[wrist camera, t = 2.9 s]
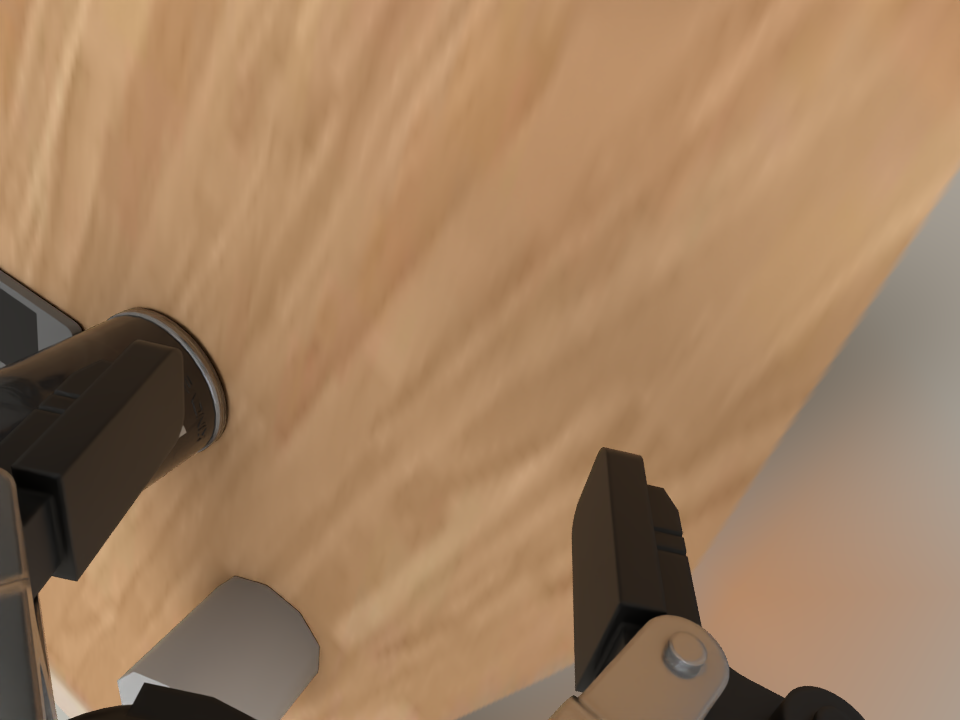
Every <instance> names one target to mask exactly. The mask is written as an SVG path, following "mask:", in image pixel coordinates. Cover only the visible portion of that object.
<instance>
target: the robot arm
mask: <svg viewBox="0 0 960 720" xmlns="http://www.w3.org/2000/svg"><path fill="white" fill-rule="evenodd" d="M226 416H227V409H226V400H225V396H224V392H223V388H222V385H221V383H220V380H219V378H218V375H217V373H216V371H215V369H214V367H213V365H212V364H211V362H210V360H209V359H208V357H207V356H206V354H205V353H204V351H203V350H202V349H201V348H200V346H199V345H198V344H197V343H196V342H195V340H194V339H193V338H192V337H191V336H190V335H189V334H188V333H187V332H186V331H185V330H184V329H182V328H181V327H180V326H179V325H177V324H176V323H175V322H173V321H172V320H170V319H169V318H167V317H165V316H164V315H162V314H159V313H157V312H155V311H152V310H148V309H143V308H132V309H128V310H125V311H123V312H120V313H118V314H116V315H114V316H112V317H110V318H109V319H108V320H107V321H105V322H103V323H101V324H98V325H96V326H94V327H92V328H89V329H87V330H85V331H83V332H80V333H78V334H76V335H74V336H71V337H69V338H66V339H64V340H62V341H60V342H57V343H55V344H53V345H51V346H49V347H46V348H44V349H42V350H40V351H37V352H35V353H33V354H31V355H28V356H26V357H24V358H22V359H20V360H17V361H15V362H13V363H11V364H8V365H6V366H4V367H2V368H0V720H57V714H56V709H55V703H54V696H53V690H52V683H51V676H50V669H49V662H48V655H47V647H46V640H45V633H44V626H43V619H42V612H41V605H40V599H39V594H38V593H39V592H40V590H41V589H42V588H43V586H44V585H45V584H46V582H47V581H48V580H49V579H50V577H51V576H54V577H59V578H63V579H68V580H73V581H78V579H79V578H80V577H81V575H82V574H83V572H84V571H85V570H86V568H87V567H88V566H89V564H90V563H91V561H92V560H93V559H94V557H95V556H96V554H97V553H98V552H99V550H100V549H101V547H102V546H103V545H104V543H105V542H106V540H107V539H108V538H109V536H110V535H111V533H112V532H113V531H114V529H115V528H116V527H117V525H118V524H119V522H120V521H121V520H122V518H123V517H124V515H125V514H126V513H127V511H128V510H129V508H130V507H131V506H132V504H133V503H134V501H135V500H136V499H137V497H138V496H139V494H140V493H141V492H142V491H143V490H145V489H146V488H147V487H149V486H150V485H152V484H153V483H155V482H156V481H157V480H159V479H160V478H162V477H163V476H165V475H166V474H167V473H169V472H170V471H172V470H173V469H174V468H176V467H177V466H179V465H180V464H181V463H183V462H184V461H185V460H187V459H188V458H190V457H191V456H192V455H194V454H195V453H198V452H200V451H202V450H204V449H206V448H207V447H208V446H210V445H211V444H213V443H214V442H215V441H217V440H218V439H219V437H220V436H221V434H222V432H223V430H224V427H225V424H226ZM682 534H683V532H682V527H681V522H680V517H679V512H678V510H677V508H676V507H675V505H674V504H673V502H672V501H671V499H670V498H669V496H668V494H667V493H666V491H665V490H664V488H660V487H655V486H651V485H647V481H646V475H645V469H644V462H643V458H642V457H641V456H640V455H636V454H631V453H627V452H623V451H618V450H614V449H610V448H605V447H602V448H601V449H600V451H599V453H598V455H597V457H596V459H595V462H594V464H593V467H592V469H591V472H590V474H589V477H588V479H587V482H586V484H585V487H584V489H583V492H582V494H581V497H580V499H579V502H578V504H577V507H576V511H575V515H574V520H573V527H572V566H573V609H574V652H575V690H576V691H579V692H583V693H582V694H581V695H580V696H579V697H578V698H577V697H576V696H574V695H573V696H571V697H570V698H569V699H567V700H566V701H565V702H564V703H563V704H562V705H561V706H560V707H559V708H558V710H557V711H556V712H555V713H554V714H553V715H552V716H551V718H549V719H548V720H865V719H864V718H863V717H862V716H861V715H860V714H859V712H857V711H856V710H855V709H854V708H853V707H852V706H851V705H850V704H848V703H847V702H846V701H845V700H843V699H842V698H840V697H839V696H837V695H835V694H834V693H831V692H829V691H827V690H825V689H822V688H818V687H813V686H803V687H798V688H796V689H793V690H792V691H791V692H790V693H789V694H788V695H787V696H786V697H785V698H783V697H782V696H780V695H777V694H776V693H774V692H772V691H770V690H768V689H766V688H764V687H763V686H761V685H759V684H757V683H755V682H753V681H751V680H749V679H747V678H745V677H744V676H742V675H740V674H739V673H737V672H736V671H734V670H733V669H732V668H730V667H729V665H728V661H727V658H726V656H725V654H724V652H723V650H722V648H721V647H720V645H719V644H718V642H717V641H716V640H715V639H714V638H713V637H712V636H711V634H709V633H708V632H707V631H706V630H705V629H703V628H702V626H701V622H700V616H699V611H698V606H697V602H696V596H695V592H694V587H693V582H692V577H691V572H690V567H689V562H688V557H687V556H686V547H685V542H684V538H682ZM68 720H257V719H255V718H253V717H251V716H249V715H247V714H245V713H243V712H241V711H239V710H238V709H236V708H234V707H232V706H230V705H228V704H226V703H224V702H222V701H220V700H218V699H217V698H215V697H212V696H207V695H202V694H197V693H193V692H188V691H183V690H178V689H174V688H169V687H164V686H159V685H155V684H150V683H145V682H144V684H143V686H142V687H141V689H140V691H139V693H138V695H137V697H136V699H135V700H134V702H133V704H131V705H120V706H114V707H108V708H103V709H99V710H95V711H92V712H88V713H84V714H82V715H79V716H76V717H74V718H71V719H68Z"/></svg>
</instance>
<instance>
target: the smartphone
mask: <svg viewBox="0 0 960 720" xmlns="http://www.w3.org/2000/svg"><path fill="white" fill-rule="evenodd" d="M80 332H82V330H81V328H80V326H79V325H78V324H77V323H76V322H75V321H73V320H72V319H71V318H69V317H68V316H66V315H65V314H63V313H62V312H60V311H59V310H57V309H56V308H55V307H53V306H52V305H50V304H49V303H47V302H46V301H44V300H43V299H41V298H40V297H39V296H37V295H36V294H34V293H33V292H31V291H30V290H28V289H27V288H25V287H24V286H23V285H21V284H20V283H18V282H17V281H15V280H14V279H12V278H11V277H9V276H8V275H7V274H5V273H4V272H2V271H1V270H0V368H2V367H4V366H6V365H8V364H11V363H13V362H15V361H17V360H20V359H22V358H24V357H26V356H28V355H31V354H33V353H35V352H37V351H40V350H42V349H44V348H46V347H49V346H51V345H53V344H55V343H57V342H60V341H62V340H64V339H66V338H69V337H71V336H74V335H76V334H78V333H80Z"/></svg>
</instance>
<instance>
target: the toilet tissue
mask: <svg viewBox="0 0 960 720" xmlns="http://www.w3.org/2000/svg"><path fill="white" fill-rule="evenodd" d="M318 664H319V645H318V643H317V641H316V640H315V638H314V636H313V635H312V633H311V631H310V630H309V628H308V626H307V624H306V623H305V621H304V619H303V618H302V616H301V614H300V613H299V612H298V611H297V610H296V609H295V608H293V607H292V606H291V605H290V604H289V603H287V602H286V601H285V600H284V599H282V598H281V597H280V596H279V595H278V594H276V593H275V592H274V591H273V590H272V589H270V588H269V587H268V586H267V585H264V584H260V583H257V582H253V581H250V580H247V579H243V578H240V577H237V576H234V577H233V578H231V579H229V580H228V581H226V582H225V583H223V584H222V585H220V586H218V587H217V588H216V589H215V590H214V591H213V592H212V593H211V594H209V595H208V596H207V597H206V598H205V599H204V600H203V601H202V602H201V603H200V604H199V605H198V606H197V607H196V608H195V609H193V610H192V611H191V612H190V613H189V614H188V615H187V616H186V617H185V618H184V619H183V620H182V621H181V622H180V623H178V624H177V625H176V626H175V627H174V628H173V629H172V630H171V631H170V632H169V633H168V634H167V635H166V636H165V637H164V638H162V639H161V640H160V641H159V642H158V643H157V644H156V645H155V646H154V647H153V648H152V649H151V650H150V651H149V652H147V653H146V654H145V655H144V656H143V657H142V658H141V659H140V660H139V661H138V662H137V663H136V664H135V665H134V666H133V667H131V668H130V669H129V670H128V671H127V672H126V673H125V674H124V675H123V676H122V677H121V678H120V679H119V680H118V681H117V682H118V687H119V692H120V697H121V702H122V705H131V704H133V702H134V700H135V699H136V697H137V695H138V693H139V691H140V689H141V687H142V686H143V684H144V682H145V683H150V684H155V685H159V686H164V687H169V688H174V689H178V690H183V691H188V692H193V693H197V694H202V695H207V696H212V697H215V698H217V699H218V700H220V701H222V702H224V703H226V704H228V705H230V706H232V707H234V708H236V709H238V710H239V711H241V712H243V713H245V714H247V715H249V716H251V717H253V718H255V719H257V720H280V719H281V718H282V717H283V716H284V714H285V713H286V712H287V711H288V709H289V708H290V707H291V706H292V704H293V703H294V702H295V700H296V699H297V698H298V697H299V695H300V694H301V693H302V692H303V690H304V689H305V688H306V687H307V685H308V684H309V683H310V681H311V680H312V679H313V678H314V676H315V675H316V674H317V673H318Z"/></svg>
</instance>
